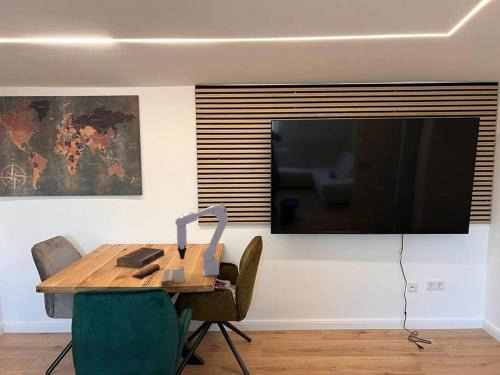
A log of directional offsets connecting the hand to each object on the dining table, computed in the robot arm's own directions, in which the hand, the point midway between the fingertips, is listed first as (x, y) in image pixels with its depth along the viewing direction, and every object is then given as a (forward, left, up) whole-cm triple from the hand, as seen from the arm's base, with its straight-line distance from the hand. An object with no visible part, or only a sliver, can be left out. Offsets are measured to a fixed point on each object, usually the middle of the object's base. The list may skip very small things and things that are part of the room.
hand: (182, 257), depth 191 cm
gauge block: (+2, +12, -10) cm, 16 cm away
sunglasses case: (+22, -4, -11) cm, 25 cm away
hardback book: (+28, -33, -11) cm, 45 cm away
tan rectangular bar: (+8, +8, -10) cm, 16 cm away
